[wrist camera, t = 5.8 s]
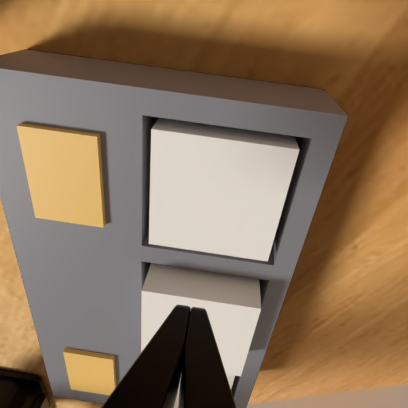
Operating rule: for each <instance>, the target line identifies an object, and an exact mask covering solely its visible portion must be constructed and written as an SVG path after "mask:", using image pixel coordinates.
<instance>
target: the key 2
mask: <svg viewBox="0 0 408 408" xmlns="http://www.w3.org/2000/svg"><path fill="white" fill-rule="evenodd" d="M298 153H299V147H298V144H297V142H296V139H295V136H290V135H282V134H275V133H268V132H261V131H253V130H246V129H239V128H232V127H225V126H217V125H210V124H203V123H196V122H188V121H181V120H174V119H167V118H160V117H159V119H158V120H157V121H156V123H155V124H154V126H153V127H152V129H151V162H150V208H149V244H153V245H160V246H167V247H173V248H180V249H187V250H194V251H200V252H207V253H214V254H221V255H227V256H234V257H241V258H248V259H254V260H261V261H268V259H269V255H270V252H271V248H272V245H273V241H274V238H275V234H276V231H277V227H278V224H279V220H280V216H281V213H282V209H283V206H284V202H285V199H286V195H287V192H288V188H289V185H290V181H291V178H292V174H293V171H294V167H295V164H296V160H297V157H298Z"/></svg>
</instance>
